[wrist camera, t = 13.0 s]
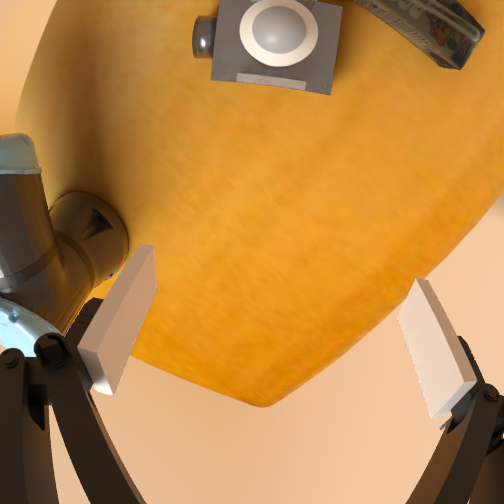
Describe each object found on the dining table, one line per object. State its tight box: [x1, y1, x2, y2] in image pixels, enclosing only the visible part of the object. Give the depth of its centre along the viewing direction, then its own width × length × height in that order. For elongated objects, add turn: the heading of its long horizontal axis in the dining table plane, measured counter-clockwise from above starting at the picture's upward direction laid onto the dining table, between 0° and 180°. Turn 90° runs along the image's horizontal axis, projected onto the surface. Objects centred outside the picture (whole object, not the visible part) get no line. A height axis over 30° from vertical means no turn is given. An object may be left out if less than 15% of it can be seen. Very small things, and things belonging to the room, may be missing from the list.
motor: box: [192, 0, 343, 95], centre depth 27 cm, size 14×10×10 cm
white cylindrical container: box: [240, 0, 318, 67], centre depth 22 cm, size 6×6×8 cm
